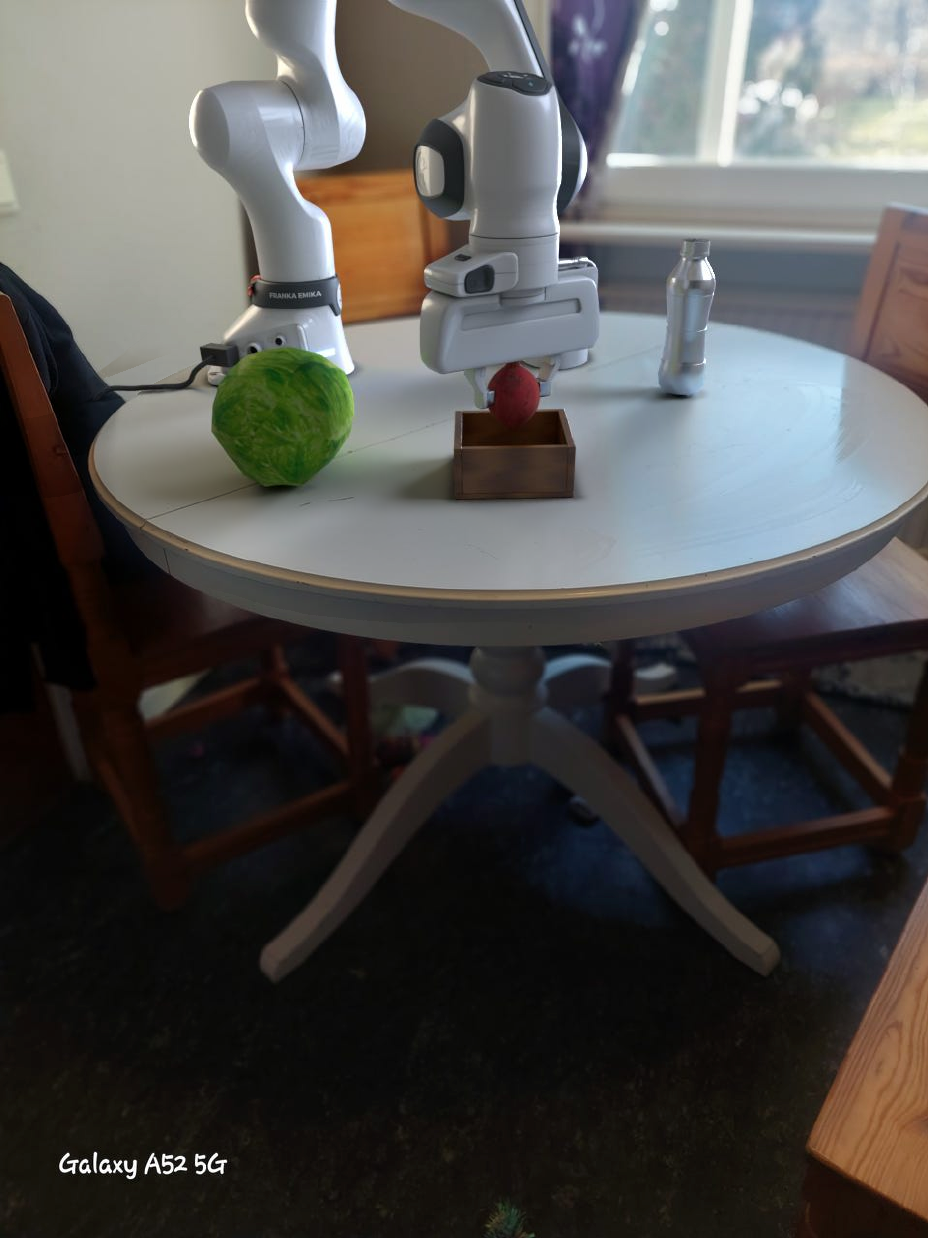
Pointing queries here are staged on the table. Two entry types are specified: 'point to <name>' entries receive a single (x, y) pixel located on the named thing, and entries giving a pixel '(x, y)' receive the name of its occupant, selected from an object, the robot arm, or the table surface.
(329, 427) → the lettuce
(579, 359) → the lumpy-topped squat cylinder
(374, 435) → the table surface
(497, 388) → the onion
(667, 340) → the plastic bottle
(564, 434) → the brown bin
